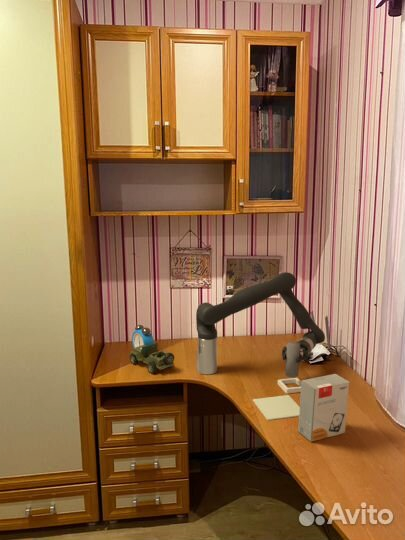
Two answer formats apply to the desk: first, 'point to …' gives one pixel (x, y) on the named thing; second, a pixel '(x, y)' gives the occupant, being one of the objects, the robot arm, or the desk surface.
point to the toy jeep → (152, 357)
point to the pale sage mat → (277, 407)
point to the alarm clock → (142, 336)
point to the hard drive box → (323, 407)
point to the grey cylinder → (292, 359)
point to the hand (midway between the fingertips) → (290, 359)
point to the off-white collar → (289, 381)
